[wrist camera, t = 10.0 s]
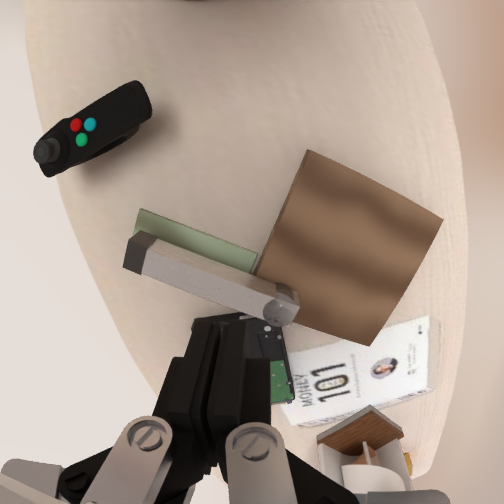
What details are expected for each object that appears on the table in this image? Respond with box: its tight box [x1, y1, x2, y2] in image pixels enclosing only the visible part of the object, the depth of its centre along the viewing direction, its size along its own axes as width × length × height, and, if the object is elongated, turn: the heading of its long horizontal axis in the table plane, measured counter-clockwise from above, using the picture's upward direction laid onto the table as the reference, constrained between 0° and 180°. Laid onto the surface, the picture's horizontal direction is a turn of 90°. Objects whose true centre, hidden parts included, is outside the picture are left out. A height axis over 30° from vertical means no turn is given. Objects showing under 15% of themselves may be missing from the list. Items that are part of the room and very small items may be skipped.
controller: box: [33, 80, 152, 177], centre depth 25 cm, size 4×12×10 cm, turn 112°
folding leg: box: [123, 230, 300, 328], centre depth 30 cm, size 17×3×3 cm, turn 69°
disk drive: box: [191, 312, 295, 405], centre depth 38 cm, size 10×3×15 cm
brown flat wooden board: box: [133, 149, 443, 346], centre depth 31 cm, size 17×30×2 cm, turn 68°
